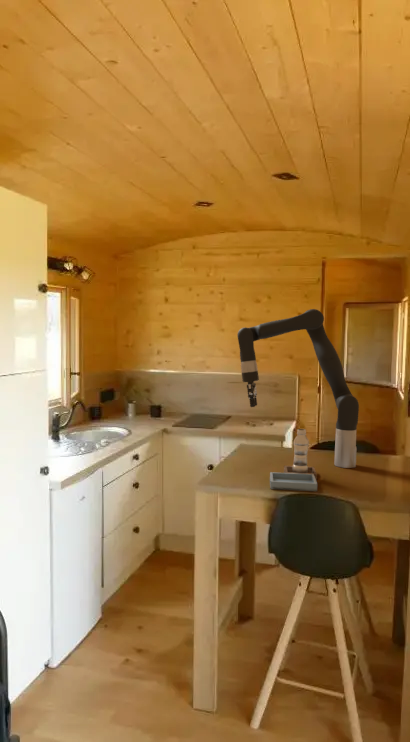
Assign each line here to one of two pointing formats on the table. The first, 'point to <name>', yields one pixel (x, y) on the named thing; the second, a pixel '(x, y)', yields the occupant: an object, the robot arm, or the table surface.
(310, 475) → the slate tray
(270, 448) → the table surface
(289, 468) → the walnut holder
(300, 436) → the plastic bottle
